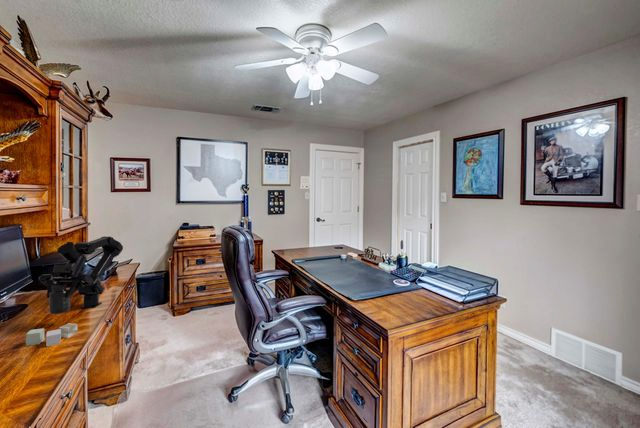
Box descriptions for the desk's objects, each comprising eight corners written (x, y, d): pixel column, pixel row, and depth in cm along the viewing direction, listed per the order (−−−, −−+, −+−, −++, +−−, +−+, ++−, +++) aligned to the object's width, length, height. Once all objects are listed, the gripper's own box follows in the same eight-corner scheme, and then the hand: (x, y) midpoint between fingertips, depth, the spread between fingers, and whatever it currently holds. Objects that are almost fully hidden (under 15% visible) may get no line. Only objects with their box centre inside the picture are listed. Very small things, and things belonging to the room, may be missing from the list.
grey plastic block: (47, 341, 114) (47, 331, 113) (61, 338, 116) (60, 328, 116) (46, 346, 110) (46, 336, 110) (60, 343, 112) (60, 333, 112)
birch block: (68, 332, 121) (68, 323, 121) (77, 333, 121) (77, 323, 121) (59, 337, 117) (59, 327, 117) (68, 338, 117) (68, 328, 117)
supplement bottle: (68, 307, 133) (68, 281, 132) (72, 311, 128) (71, 284, 128) (47, 311, 127) (47, 284, 127) (50, 316, 123) (50, 287, 122)
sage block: (30, 341, 113) (30, 329, 113) (44, 339, 115) (44, 328, 115) (26, 346, 110) (25, 334, 110) (40, 344, 112) (39, 332, 111)
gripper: (41, 256, 129) (20, 289, 119) (88, 256, 132) (72, 288, 122) (54, 269, 137) (36, 301, 127) (99, 269, 140) (84, 300, 130)
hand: (57, 297), depth 126 cm, fingers closed on supplement bottle, 7 cm apart
